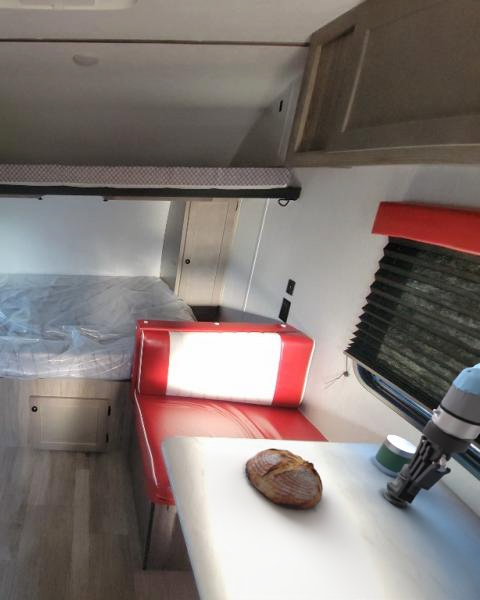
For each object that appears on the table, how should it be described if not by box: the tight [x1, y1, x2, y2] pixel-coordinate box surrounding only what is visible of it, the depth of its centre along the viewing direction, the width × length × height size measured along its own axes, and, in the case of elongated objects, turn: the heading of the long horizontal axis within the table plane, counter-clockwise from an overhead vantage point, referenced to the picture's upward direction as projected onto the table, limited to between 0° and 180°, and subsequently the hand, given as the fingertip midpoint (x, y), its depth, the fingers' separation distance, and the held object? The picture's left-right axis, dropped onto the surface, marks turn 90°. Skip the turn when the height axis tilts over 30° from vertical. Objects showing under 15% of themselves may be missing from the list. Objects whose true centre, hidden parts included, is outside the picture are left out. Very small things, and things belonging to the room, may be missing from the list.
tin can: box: [372, 434, 417, 478], centre depth 100 cm, size 7×7×10 cm
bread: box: [244, 447, 324, 510], centre depth 90 cm, size 16×20×10 cm
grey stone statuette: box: [381, 464, 410, 509], centre depth 90 cm, size 6×6×12 cm
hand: (403, 498), depth 87 cm, fingers closed
